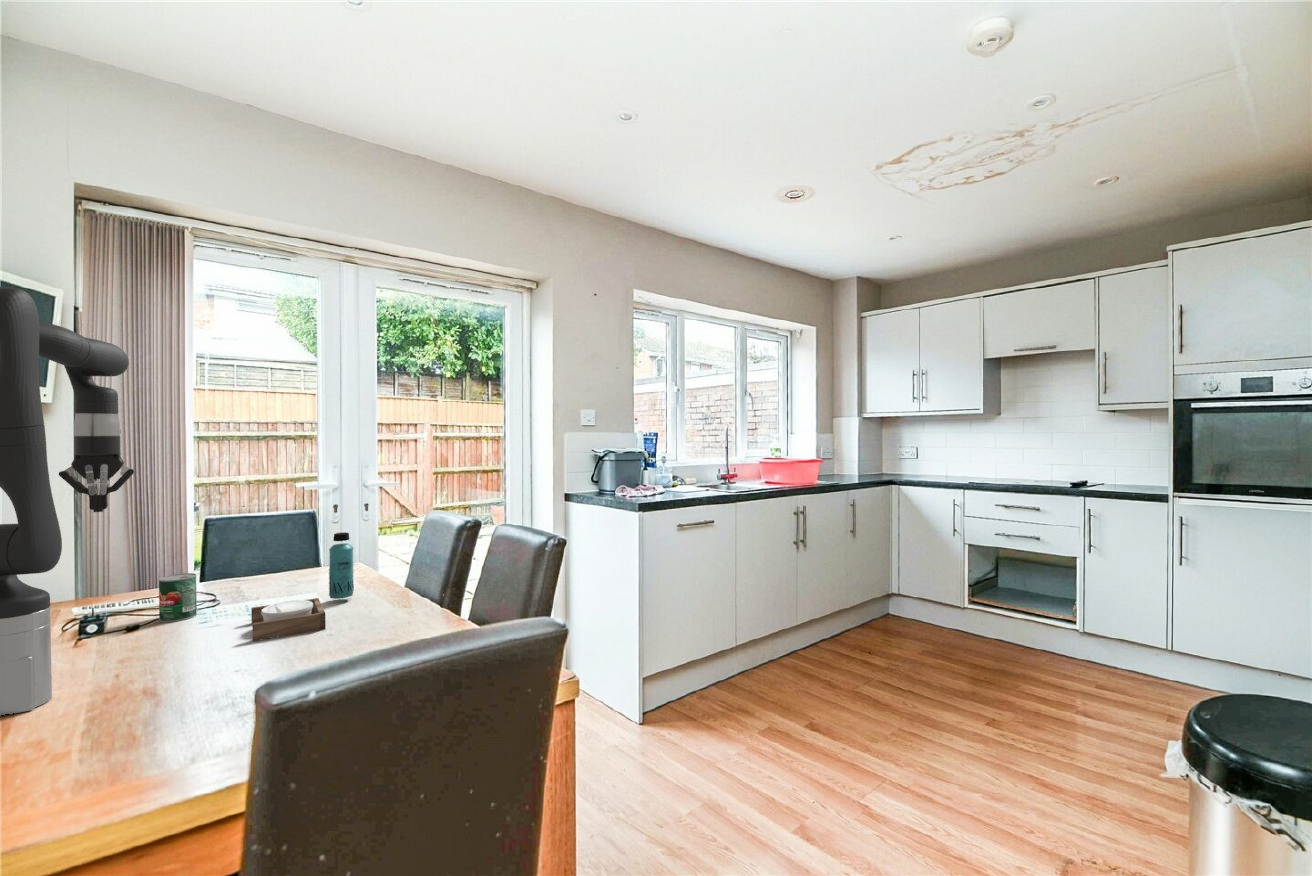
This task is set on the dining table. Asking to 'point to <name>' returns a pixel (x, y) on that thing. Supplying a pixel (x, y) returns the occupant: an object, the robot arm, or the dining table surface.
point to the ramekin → (287, 610)
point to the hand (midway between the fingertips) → (98, 511)
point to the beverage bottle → (341, 568)
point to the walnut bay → (287, 622)
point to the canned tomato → (177, 597)
